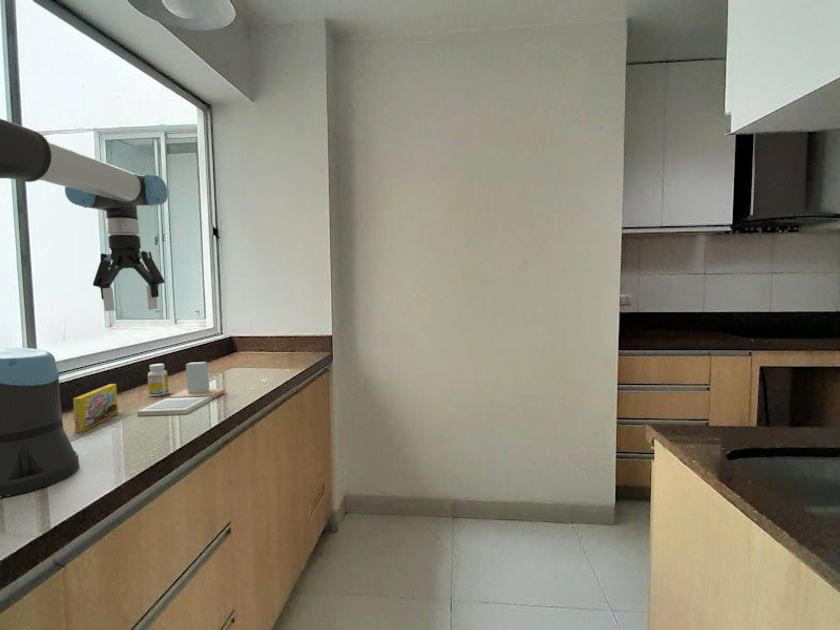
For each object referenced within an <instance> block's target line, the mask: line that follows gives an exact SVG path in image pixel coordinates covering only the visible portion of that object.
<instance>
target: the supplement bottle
mask: <svg viewBox="0 0 840 630" xmlns="http://www.w3.org/2000/svg"><path fill="white" fill-rule="evenodd" d="M149 370H150V371H148V373H147V382H148V383H147V384H148V392H149V393H148V394H149V396H150V397H152V396H156V397H162V396H161V395H163V396H166V395H168V394H169V391H170V389H169V377H168V371H167V370H166V369H165V364H164V363H155V364H154V363H153V364H150V365H149ZM165 394H166V395H165Z"/></svg>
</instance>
